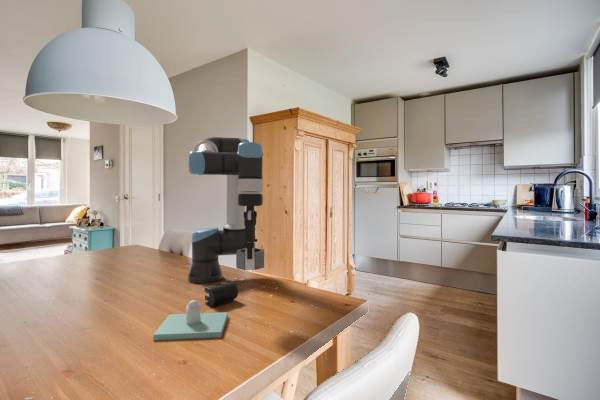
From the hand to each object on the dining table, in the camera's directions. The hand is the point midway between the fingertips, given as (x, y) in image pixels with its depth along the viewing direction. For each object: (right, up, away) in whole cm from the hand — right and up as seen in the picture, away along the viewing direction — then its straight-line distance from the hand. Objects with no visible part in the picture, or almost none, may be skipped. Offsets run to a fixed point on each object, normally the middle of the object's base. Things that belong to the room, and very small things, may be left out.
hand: (250, 265), depth 97 cm
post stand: (-16, -17, -5) cm, 24 cm away
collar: (0, 0, 0) cm, 0 cm away
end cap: (-13, -17, +16) cm, 26 cm away
